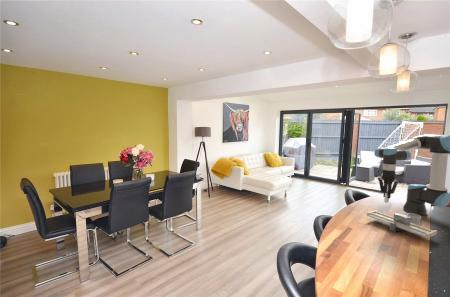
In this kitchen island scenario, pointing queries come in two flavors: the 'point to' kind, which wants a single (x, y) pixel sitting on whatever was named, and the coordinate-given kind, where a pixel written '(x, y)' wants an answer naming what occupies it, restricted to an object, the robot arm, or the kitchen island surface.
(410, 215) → the cup
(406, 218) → the block
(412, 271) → the kitchen island surface
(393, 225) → the fulcrum
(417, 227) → the beam
